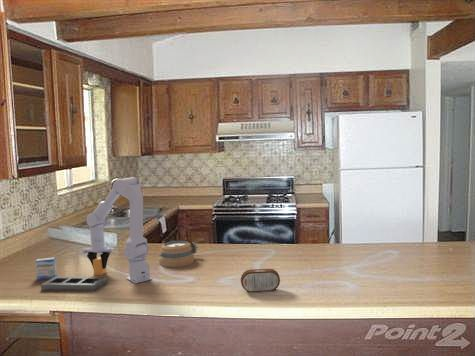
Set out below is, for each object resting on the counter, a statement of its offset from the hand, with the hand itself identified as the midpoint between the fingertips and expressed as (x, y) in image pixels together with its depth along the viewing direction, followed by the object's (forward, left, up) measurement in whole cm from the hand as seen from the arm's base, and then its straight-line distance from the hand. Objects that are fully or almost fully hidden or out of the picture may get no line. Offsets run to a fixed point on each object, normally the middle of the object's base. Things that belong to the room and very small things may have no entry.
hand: (99, 268), depth 188 cm
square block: (0, 0, -2) cm, 2 cm away
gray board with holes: (-10, +14, -2) cm, 17 cm away
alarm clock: (-8, -37, -3) cm, 38 cm away
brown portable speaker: (-68, -39, -3) cm, 78 cm away
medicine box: (+12, +20, -3) cm, 23 cm away
